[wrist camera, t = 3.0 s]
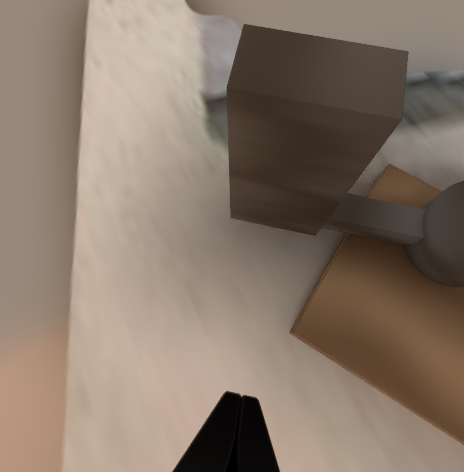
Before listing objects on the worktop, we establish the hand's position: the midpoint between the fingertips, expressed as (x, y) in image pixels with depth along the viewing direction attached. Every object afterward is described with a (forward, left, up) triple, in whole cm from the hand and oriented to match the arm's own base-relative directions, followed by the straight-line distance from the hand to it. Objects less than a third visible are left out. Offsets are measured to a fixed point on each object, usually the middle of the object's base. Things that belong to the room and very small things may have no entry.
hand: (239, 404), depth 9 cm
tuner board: (+9, -9, -11) cm, 17 cm away
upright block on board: (+11, -4, -10) cm, 16 cm away
